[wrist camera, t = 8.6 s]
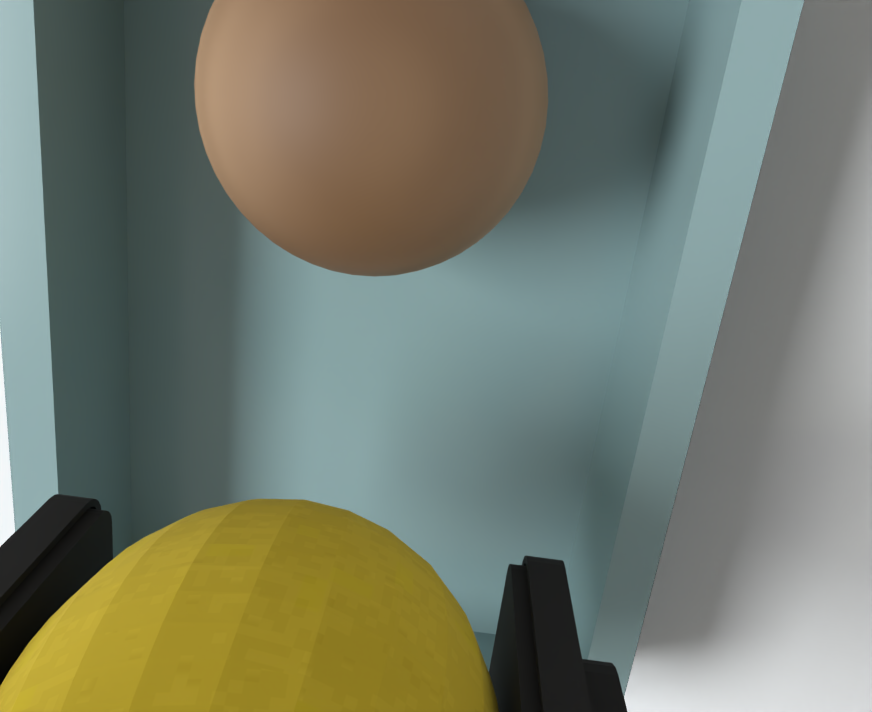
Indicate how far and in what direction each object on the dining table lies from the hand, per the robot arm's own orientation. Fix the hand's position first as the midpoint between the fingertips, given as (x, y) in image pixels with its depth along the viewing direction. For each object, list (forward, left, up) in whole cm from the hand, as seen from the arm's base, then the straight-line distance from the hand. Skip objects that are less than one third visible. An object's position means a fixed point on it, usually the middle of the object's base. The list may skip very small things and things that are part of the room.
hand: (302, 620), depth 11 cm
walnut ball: (0, -7, -5) cm, 9 cm away
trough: (0, -3, -6) cm, 7 cm away
